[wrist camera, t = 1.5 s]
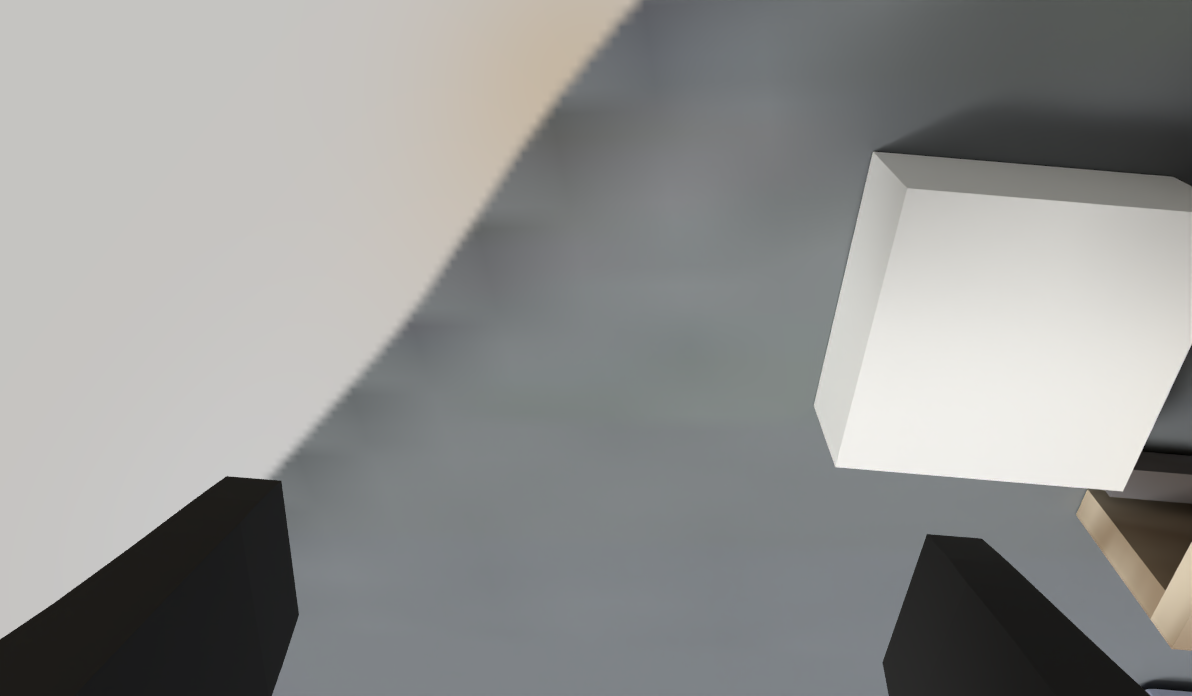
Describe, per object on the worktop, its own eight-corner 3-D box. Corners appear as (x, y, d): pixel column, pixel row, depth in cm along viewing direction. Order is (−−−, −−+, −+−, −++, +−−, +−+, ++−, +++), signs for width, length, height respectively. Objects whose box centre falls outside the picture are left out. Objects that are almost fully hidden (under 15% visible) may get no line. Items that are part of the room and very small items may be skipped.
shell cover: (1070, 427, 20) (1122, 491, 17) (813, 405, 20) (835, 467, 17) (1172, 176, 17) (1250, 217, 15) (873, 151, 17) (907, 187, 15)
